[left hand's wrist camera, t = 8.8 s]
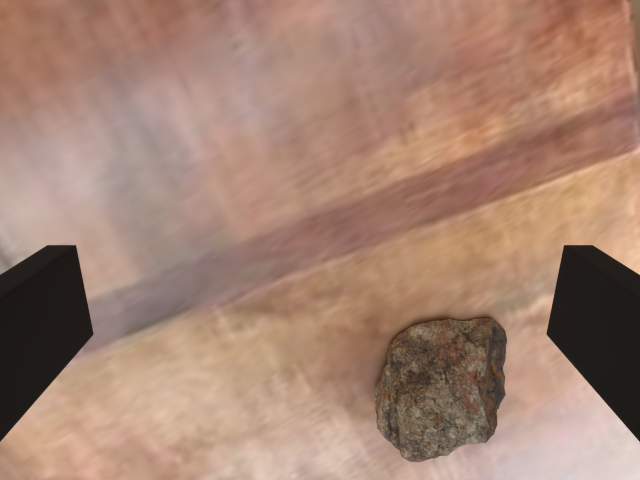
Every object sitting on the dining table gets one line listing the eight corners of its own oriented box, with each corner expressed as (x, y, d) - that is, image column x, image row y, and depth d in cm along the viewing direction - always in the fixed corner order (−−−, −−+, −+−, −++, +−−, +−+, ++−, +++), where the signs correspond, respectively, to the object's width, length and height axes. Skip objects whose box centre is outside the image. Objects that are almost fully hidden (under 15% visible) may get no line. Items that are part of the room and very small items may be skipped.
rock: (504, 380, 48) (496, 298, 45) (549, 440, 40) (543, 346, 37) (372, 412, 48) (354, 332, 45) (390, 478, 40) (370, 388, 37)
